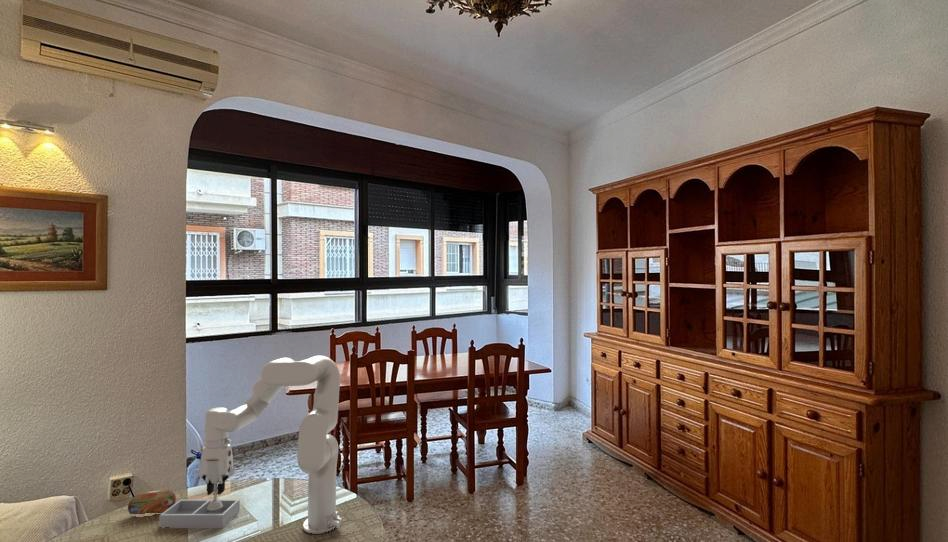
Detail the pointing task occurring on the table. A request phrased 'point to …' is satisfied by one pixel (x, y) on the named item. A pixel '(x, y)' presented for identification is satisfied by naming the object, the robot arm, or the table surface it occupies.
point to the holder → (198, 514)
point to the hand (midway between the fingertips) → (215, 492)
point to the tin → (151, 502)
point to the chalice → (214, 478)
